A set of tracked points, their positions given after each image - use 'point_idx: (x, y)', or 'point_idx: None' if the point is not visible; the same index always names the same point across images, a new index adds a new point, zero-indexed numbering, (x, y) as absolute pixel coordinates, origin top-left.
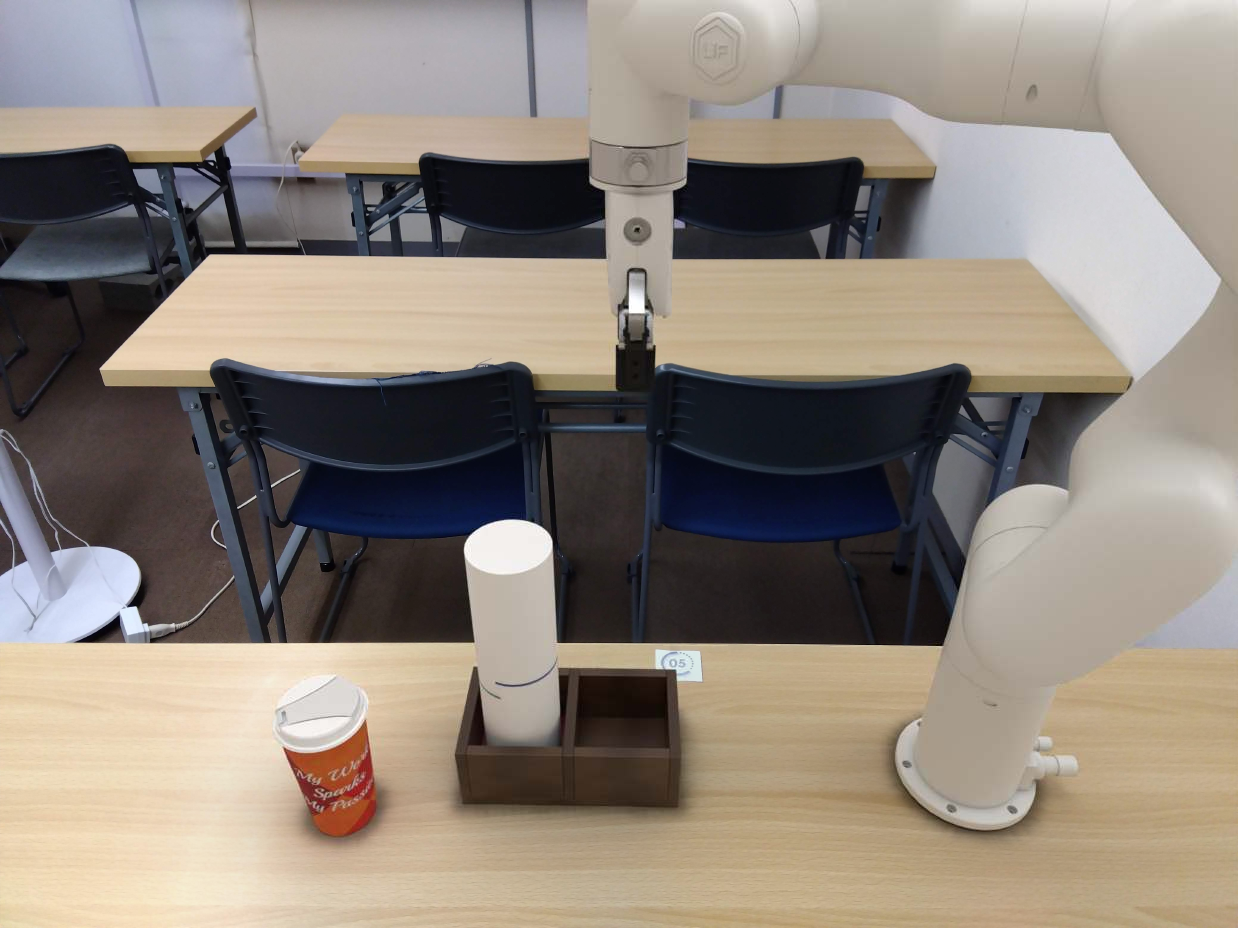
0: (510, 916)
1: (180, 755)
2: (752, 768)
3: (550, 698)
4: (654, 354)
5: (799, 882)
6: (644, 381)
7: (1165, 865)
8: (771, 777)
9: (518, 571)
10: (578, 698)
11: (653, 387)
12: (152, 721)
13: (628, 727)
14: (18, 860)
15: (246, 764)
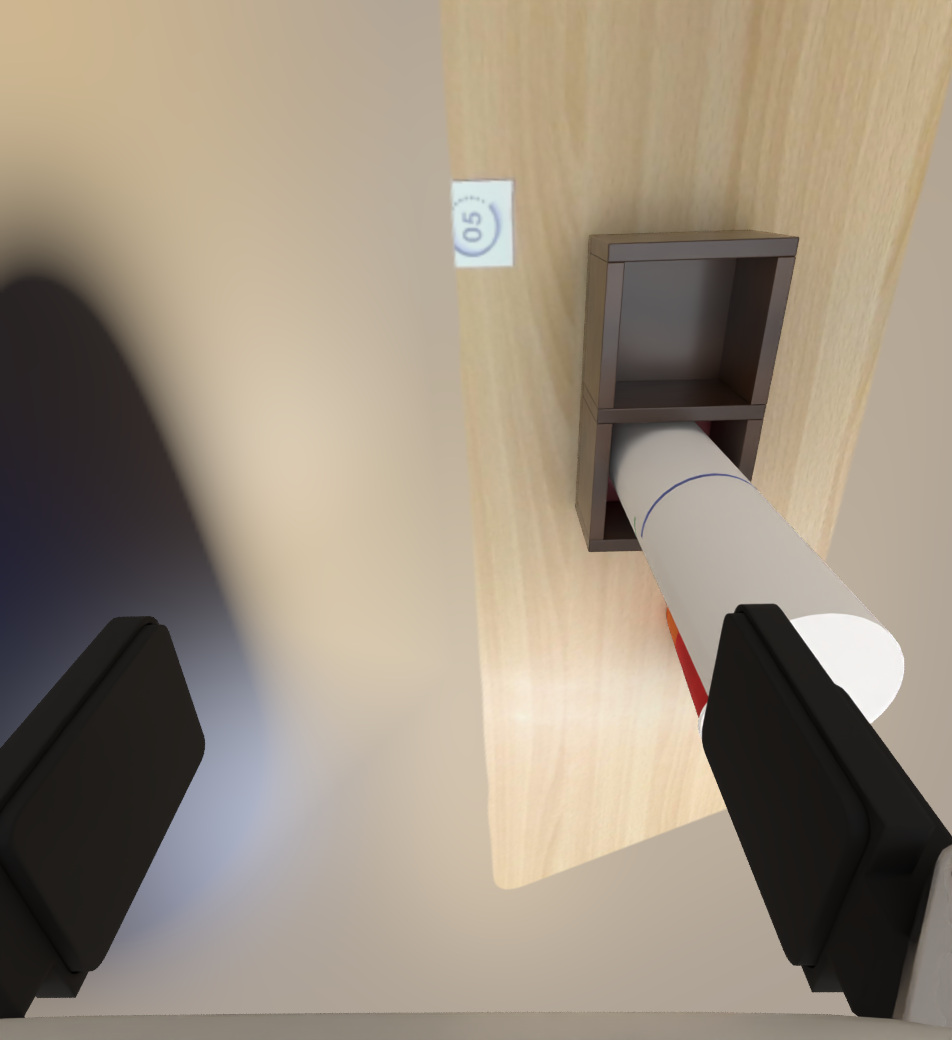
0: (856, 432)
1: (617, 752)
2: (698, 95)
3: (727, 459)
4: (902, 782)
5: (907, 31)
6: (844, 693)
7: None
8: (719, 59)
9: (898, 662)
10: (638, 401)
11: (776, 613)
12: (575, 784)
13: (621, 310)
14: (714, 809)
15: (632, 703)
